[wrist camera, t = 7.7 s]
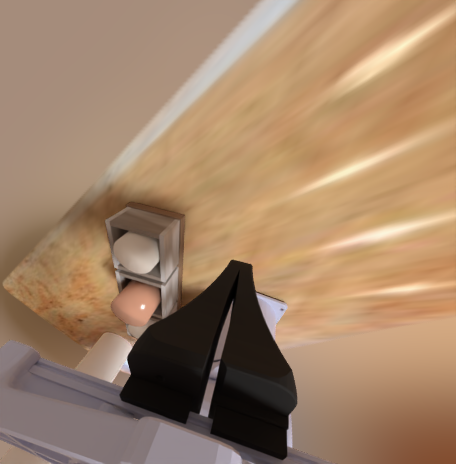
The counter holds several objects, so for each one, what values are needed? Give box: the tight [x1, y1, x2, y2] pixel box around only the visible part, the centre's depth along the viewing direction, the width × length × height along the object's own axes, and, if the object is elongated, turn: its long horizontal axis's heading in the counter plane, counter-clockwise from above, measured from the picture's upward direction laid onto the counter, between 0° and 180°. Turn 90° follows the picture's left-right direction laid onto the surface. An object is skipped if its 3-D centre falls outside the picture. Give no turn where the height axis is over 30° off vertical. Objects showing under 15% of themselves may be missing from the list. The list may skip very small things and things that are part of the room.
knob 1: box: [113, 231, 160, 274], centre depth 22 cm, size 5×5×4 cm
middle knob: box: [111, 279, 162, 327], centre depth 25 cm, size 5×5×4 cm
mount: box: [105, 202, 185, 337], centre depth 27 cm, size 21×7×4 cm, turn 171°
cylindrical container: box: [0, 332, 132, 464], centre depth 32 cm, size 7×7×25 cm
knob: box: [128, 320, 156, 339], centre depth 30 cm, size 5×5×4 cm
